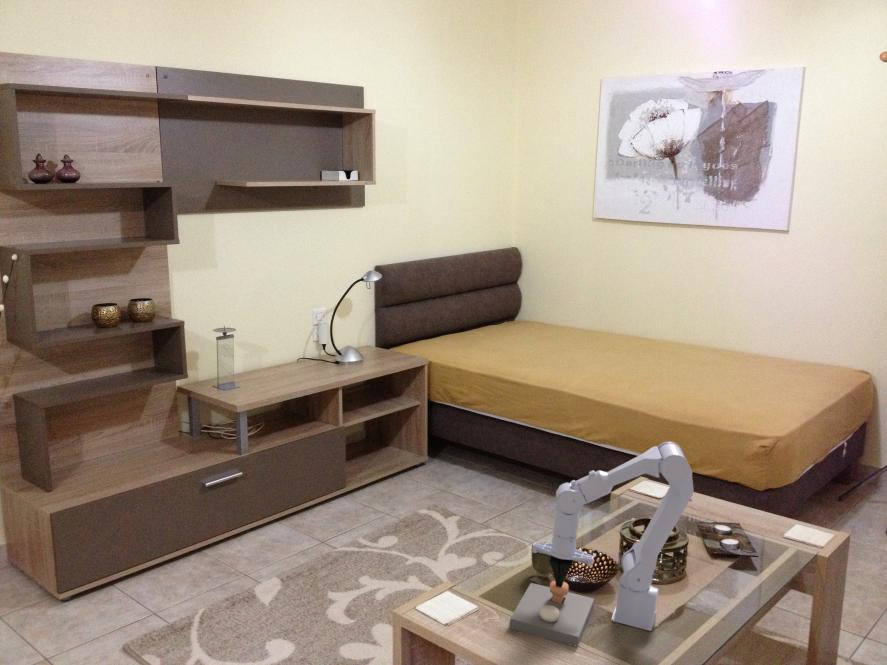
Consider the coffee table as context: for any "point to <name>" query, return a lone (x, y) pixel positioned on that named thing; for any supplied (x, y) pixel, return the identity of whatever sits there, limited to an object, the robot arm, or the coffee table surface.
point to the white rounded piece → (549, 613)
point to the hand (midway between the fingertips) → (559, 585)
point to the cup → (541, 564)
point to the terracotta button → (558, 591)
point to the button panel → (568, 624)
